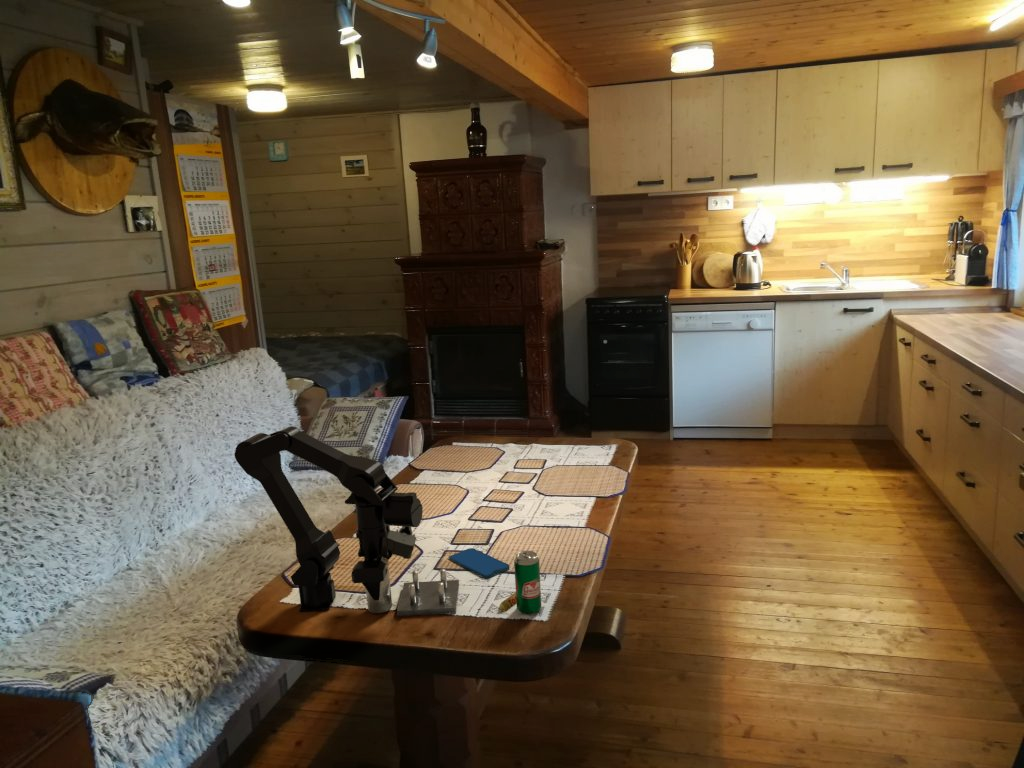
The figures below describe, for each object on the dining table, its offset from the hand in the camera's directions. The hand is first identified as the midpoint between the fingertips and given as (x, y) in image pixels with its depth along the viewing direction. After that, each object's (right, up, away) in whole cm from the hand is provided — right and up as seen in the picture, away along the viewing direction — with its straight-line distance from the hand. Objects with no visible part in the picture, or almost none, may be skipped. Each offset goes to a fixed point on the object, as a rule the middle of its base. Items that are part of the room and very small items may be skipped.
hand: (378, 593), depth 158 cm
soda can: (+31, -3, -2) cm, 31 cm away
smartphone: (+20, +1, +20) cm, 28 cm away
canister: (0, -3, +1) cm, 3 cm away
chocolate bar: (+29, -2, +3) cm, 29 cm away
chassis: (+10, -2, +4) cm, 11 cm away
